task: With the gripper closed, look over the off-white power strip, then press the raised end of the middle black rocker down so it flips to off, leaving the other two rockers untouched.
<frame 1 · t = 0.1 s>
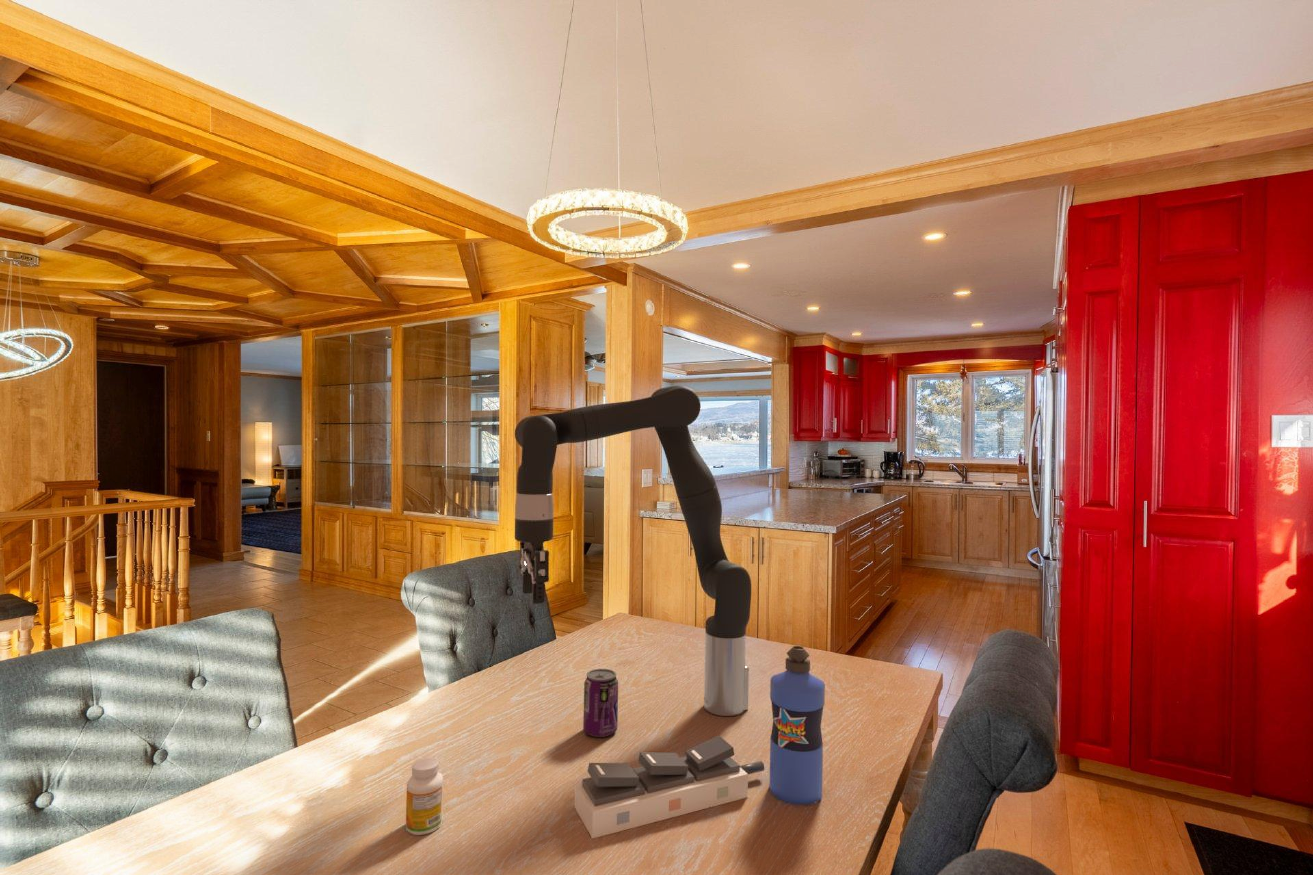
hand: (532, 597, 124), 29 cm above the table, tool pointing down, fingers open, 8 cm apart
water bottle: (795, 791, 109), on the table
beverage can: (600, 732, 130), on the table
supplement bottle: (424, 826, 98), on the table
rocker 3: (613, 774, 101), point 7 cm above the table, hinge at -12.0°
power strip: (662, 802, 105), on the table
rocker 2: (663, 763, 105), point 7 cm above the table, hinge at -12.0°
rocker 1: (709, 752, 109), point 7 cm above the table, hinge at 12.0°
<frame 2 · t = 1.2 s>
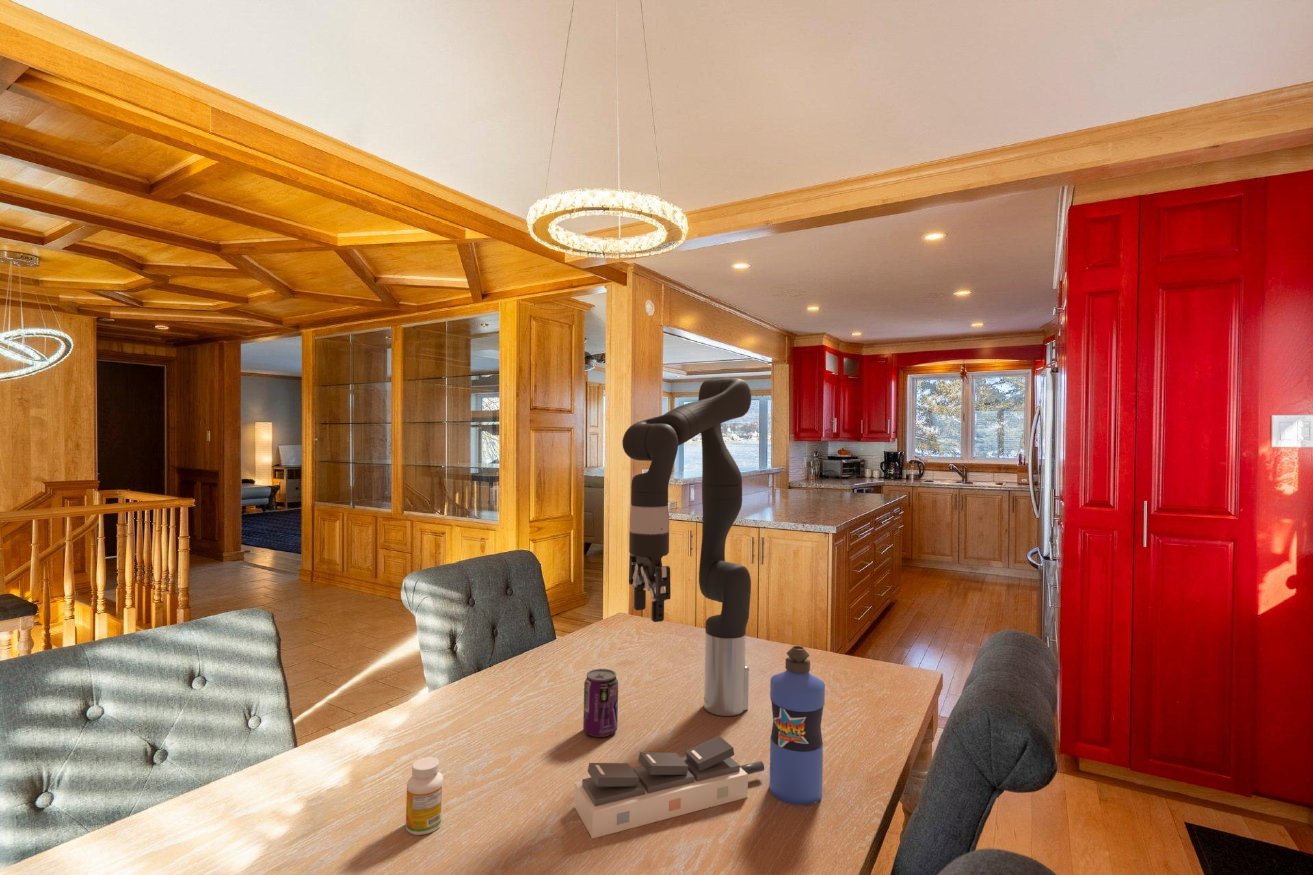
hand: (648, 615, 118), 28 cm above the table, tool pointing down, fingers open, 8 cm apart
nothing on the table moved.
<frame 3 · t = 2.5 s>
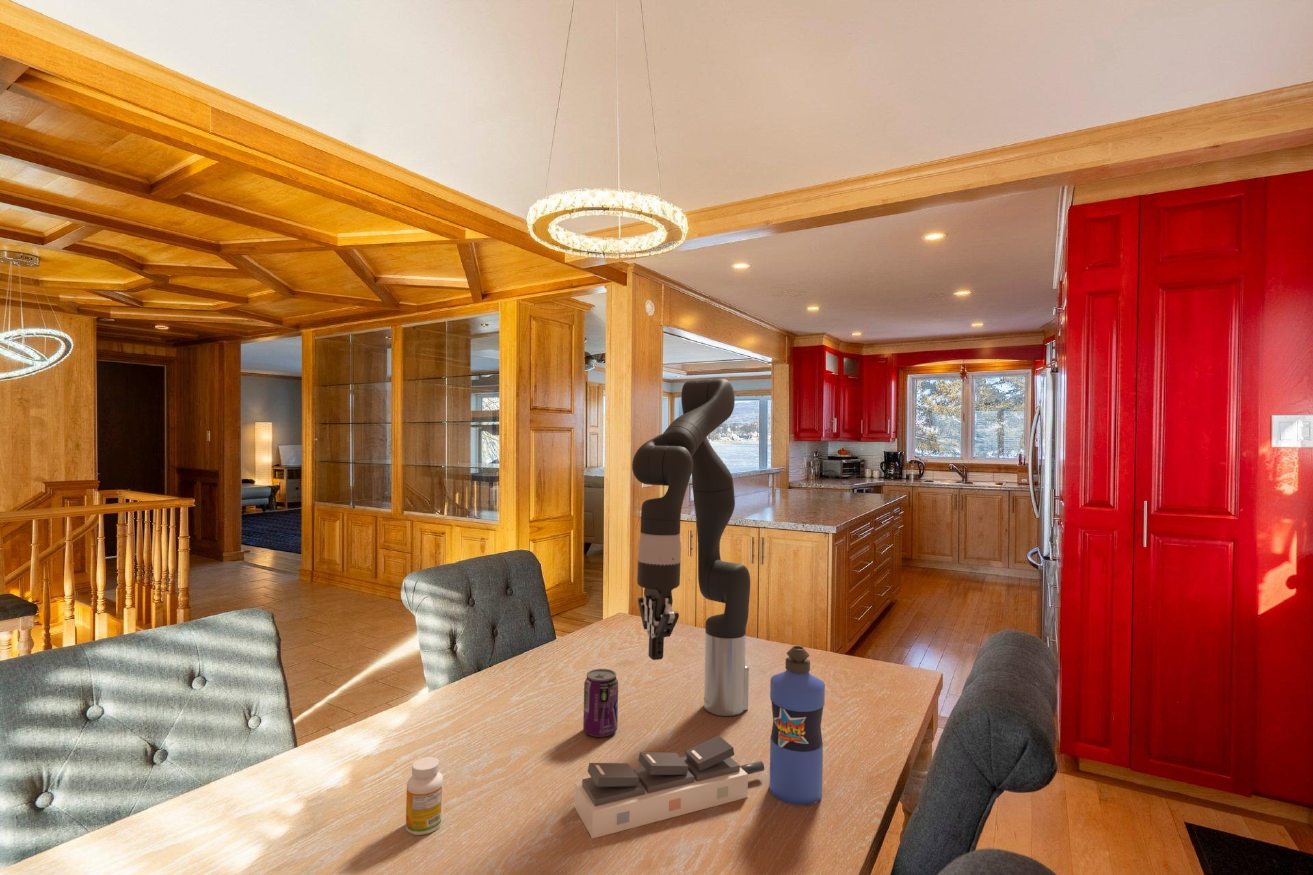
hand: (655, 658, 109), 23 cm above the table, tool pointing down, fingers closed
nothing on the table moved.
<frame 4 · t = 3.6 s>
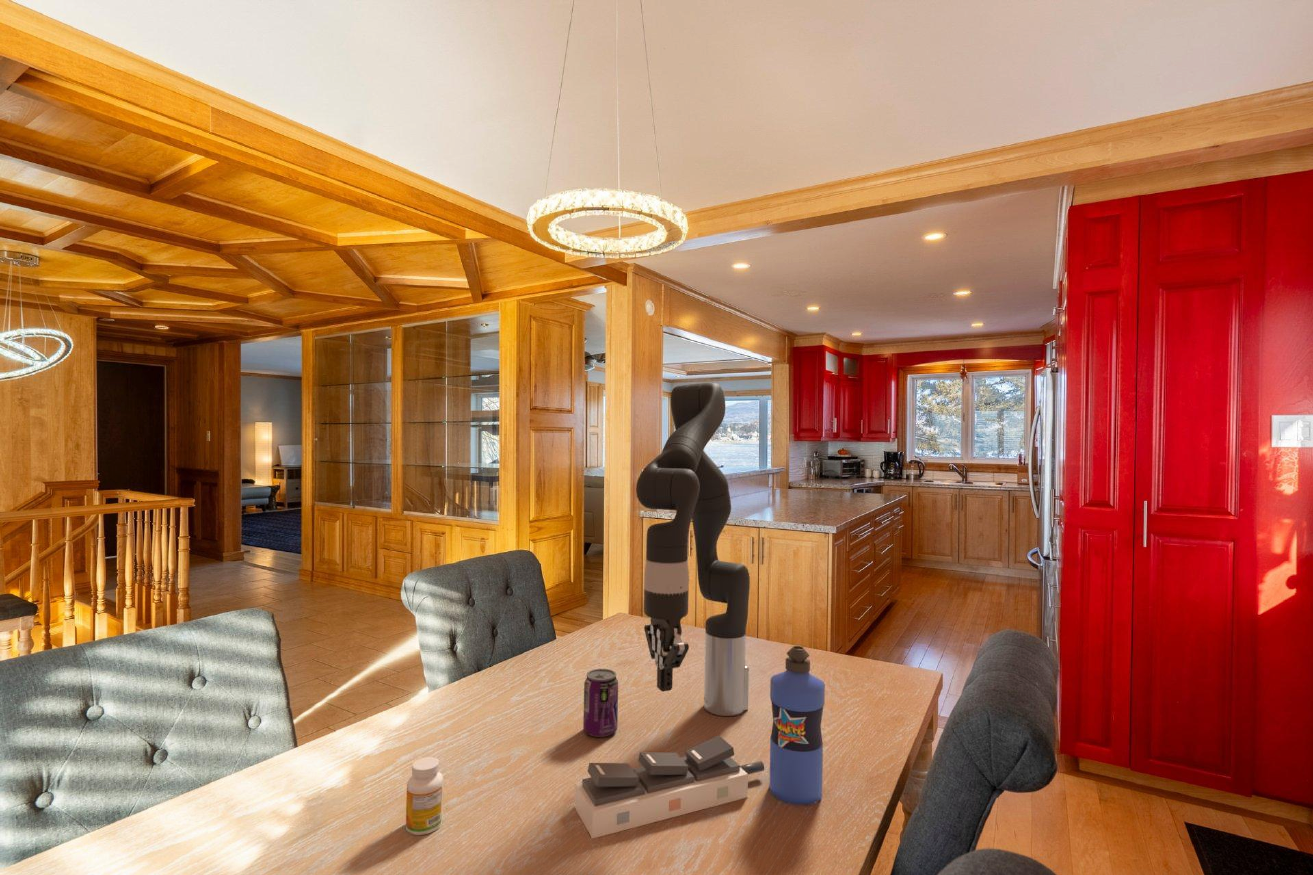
hand: (664, 689, 105), 19 cm above the table, tool pointing down, fingers closed
nothing on the table moved.
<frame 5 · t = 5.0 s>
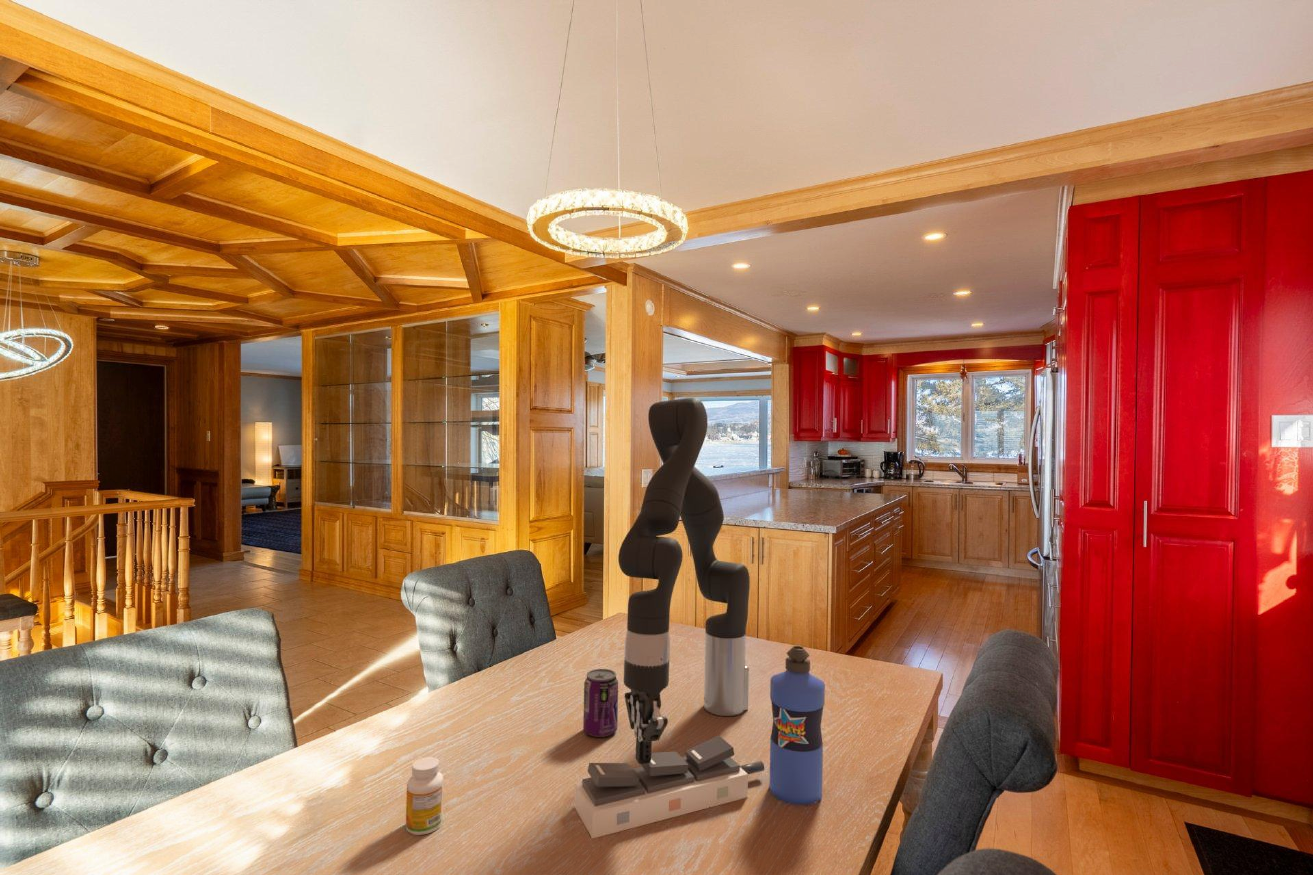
hand: (643, 761, 103), 8 cm above the table, tool pointing down, fingers closed
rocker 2: (663, 763, 105), point 7 cm above the table, hinge at -7.9°, touching gripper
everything else where it was.
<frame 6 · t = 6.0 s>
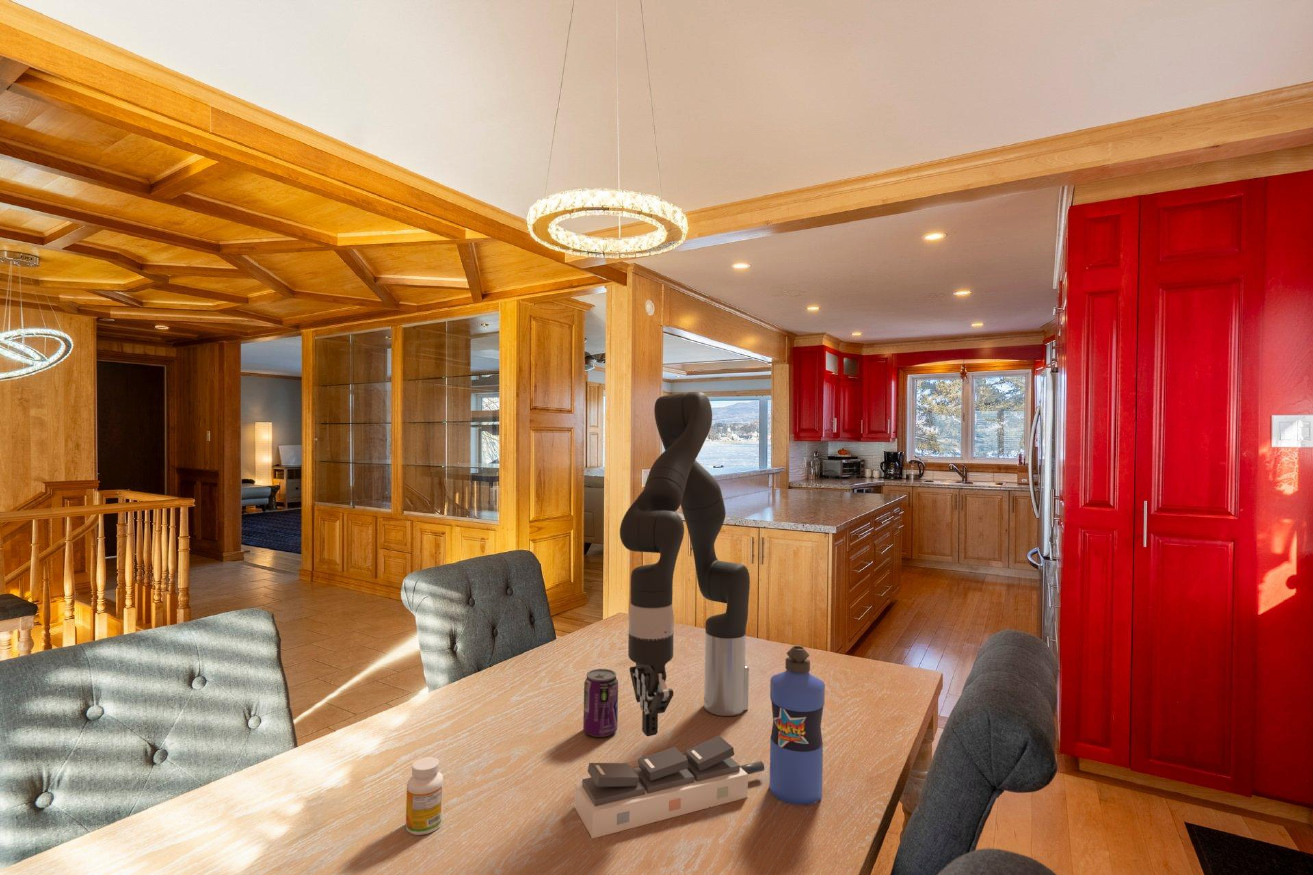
hand: (649, 733, 104), 12 cm above the table, tool pointing down, fingers closed
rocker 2: (663, 763, 105), point 7 cm above the table, hinge at 5.7°
everything else where it was.
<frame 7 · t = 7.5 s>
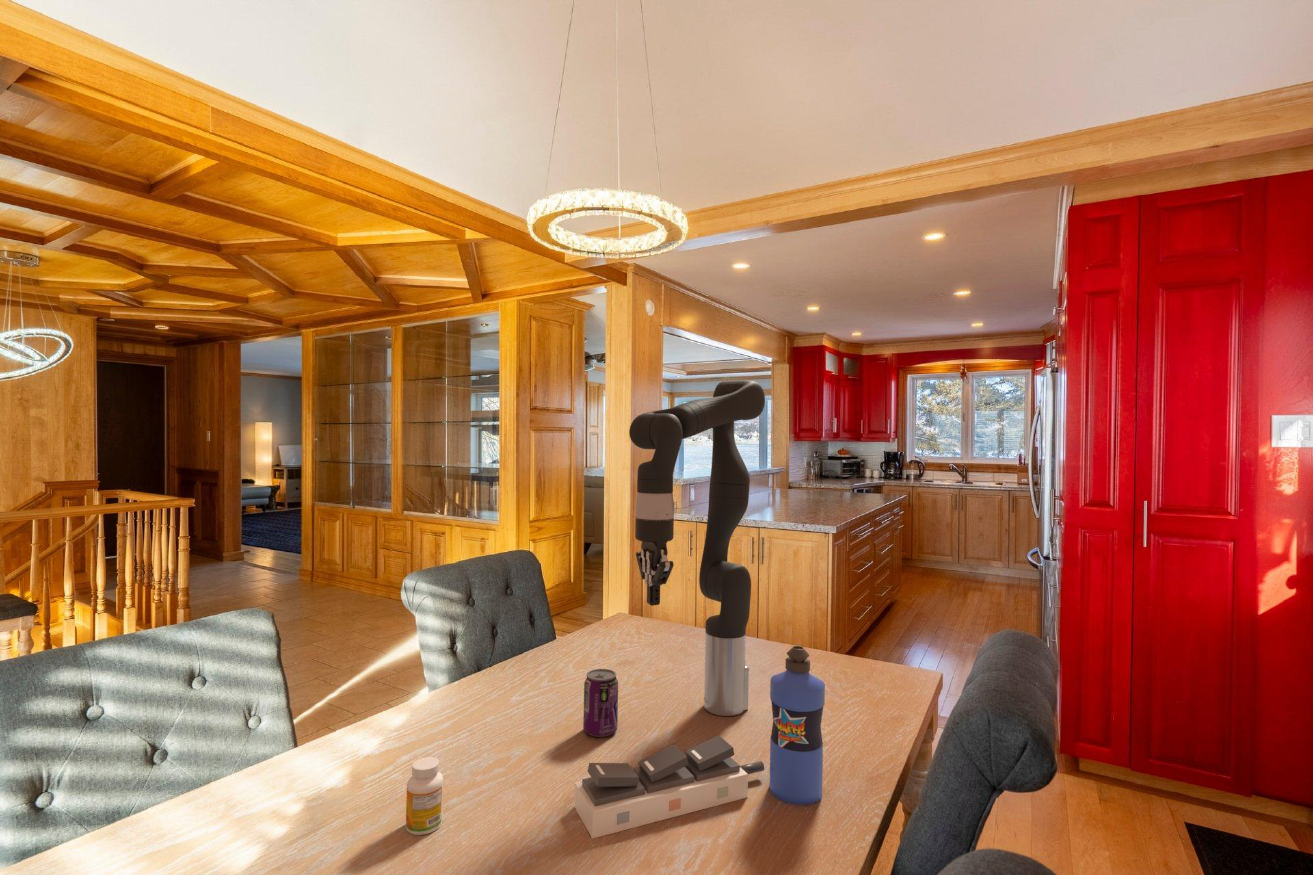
hand: (653, 604, 122), 29 cm above the table, tool pointing down, fingers closed
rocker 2: (663, 763, 105), point 7 cm above the table, hinge at 14.4°, touching power strip
everything else where it was.
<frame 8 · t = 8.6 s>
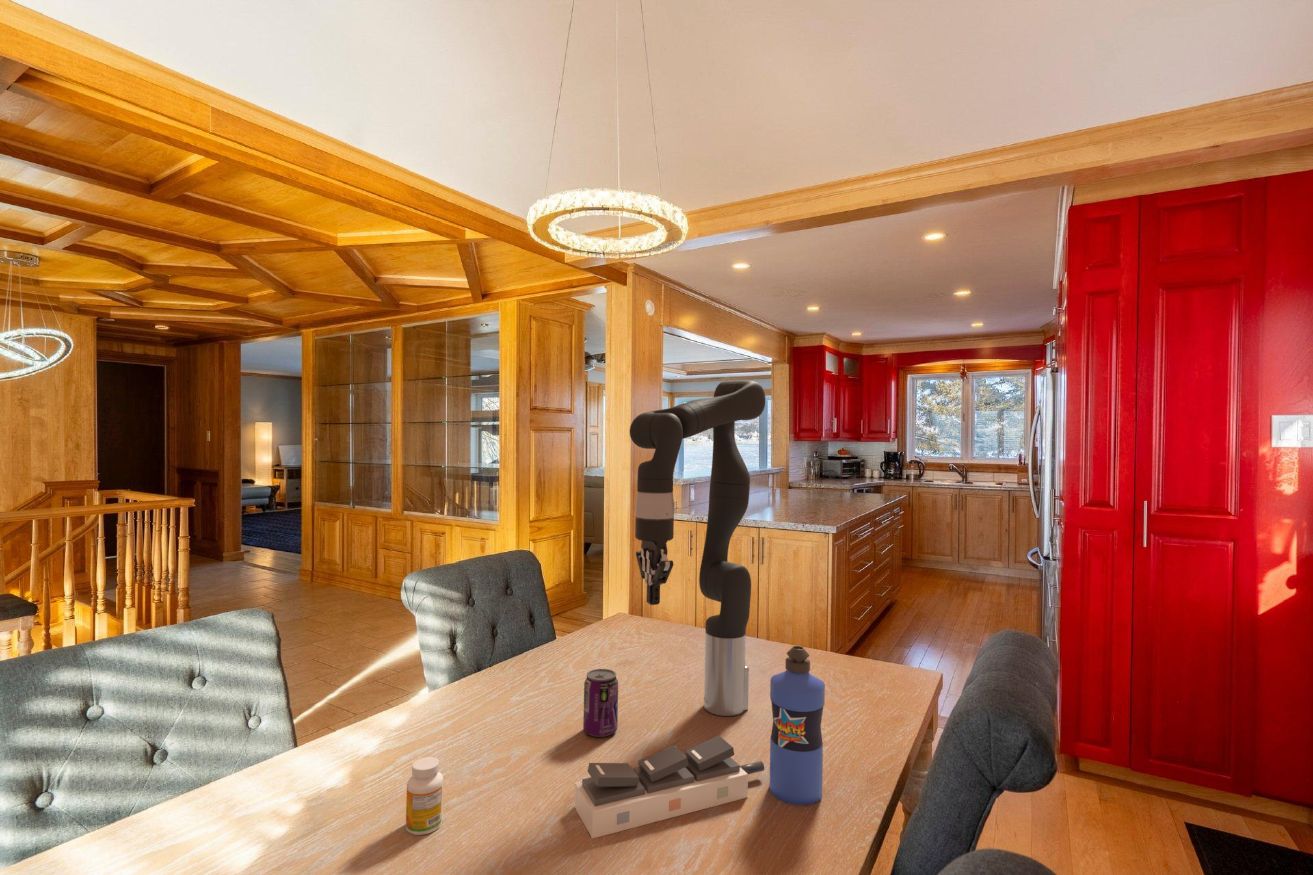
hand: (653, 603, 122), 29 cm above the table, tool pointing down, fingers closed
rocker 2: (663, 763, 105), point 7 cm above the table, hinge at 12.2°
everything else where it was.
at the end: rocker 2 at +12° (first picture: -12°); rocker 1 at +12° (first picture: +12°); rocker 3 at -12° (first picture: -12°) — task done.
